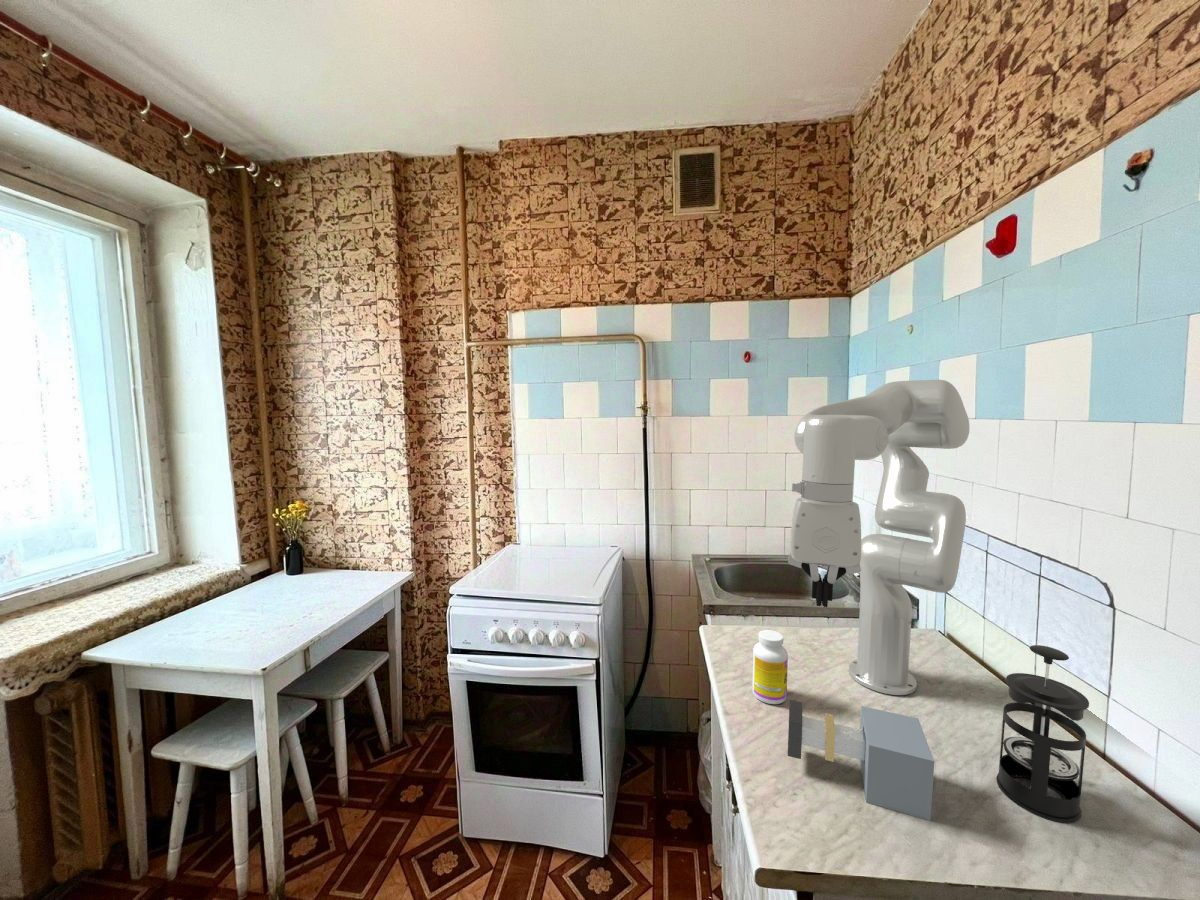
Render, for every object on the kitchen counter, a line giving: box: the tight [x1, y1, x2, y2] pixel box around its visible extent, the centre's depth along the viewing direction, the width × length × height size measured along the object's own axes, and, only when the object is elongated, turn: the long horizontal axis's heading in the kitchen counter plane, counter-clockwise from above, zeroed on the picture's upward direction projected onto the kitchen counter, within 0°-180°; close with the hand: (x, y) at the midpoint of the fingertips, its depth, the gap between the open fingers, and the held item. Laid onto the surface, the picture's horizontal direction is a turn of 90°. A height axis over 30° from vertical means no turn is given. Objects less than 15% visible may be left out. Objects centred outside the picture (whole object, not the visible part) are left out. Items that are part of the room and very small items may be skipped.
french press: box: [995, 644, 1090, 824], centre depth 70 cm, size 12×9×23 cm
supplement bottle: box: [751, 629, 789, 705], centre depth 95 cm, size 7×7×13 cm
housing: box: [858, 705, 935, 822], centre depth 72 cm, size 10×8×9 cm
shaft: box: [787, 699, 866, 763], centre depth 75 cm, size 6×14×6 cm, turn 67°
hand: (821, 603), depth 77 cm, fingers closed
